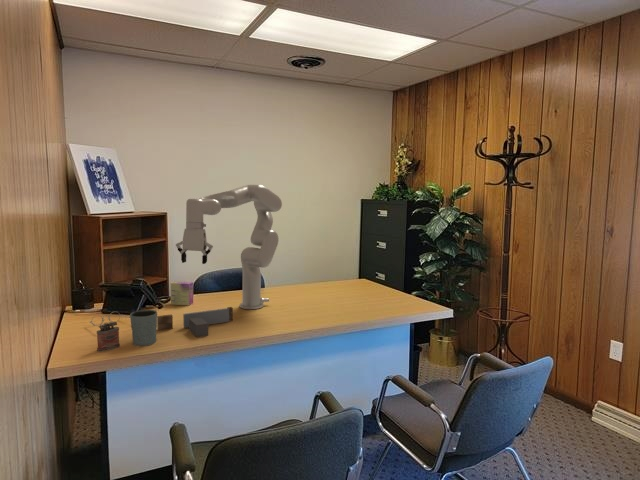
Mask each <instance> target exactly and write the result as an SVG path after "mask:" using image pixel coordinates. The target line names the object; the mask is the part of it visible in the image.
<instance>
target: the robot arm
mask: <svg viewBox="0 0 640 480" xmlns="http://www.w3.org/2000/svg"><path fill="white" fill-rule="evenodd" d="M252 202H253V206H254V209H255V211H256V214H257V215H256V216H257V220H256V222H255V225H254V227H253V231H252V233H251V236H250V243H251V245H253V247H252V246H249V247H246V248H244V249H242V250H241V253H240V262H241V268H242V292H241V293H242V294H241V295H242V298H241V299H242V300H241V301H242V302H241V303H239V308H241V309H245V310H259V309H262V308H264V303H267V302H268V303H269V302H270V298H269V297H267V298H266V297H261V294H262V293H261V289H262V287H261V285H262V271H261V269H262V268H266V267H269V266H270V264H271V262H272V261H273V258H274V255H275V253H276V251H277V248H278V245H279V234H278V233H277V232H276V230H273V229H272V227H273V223H274V219H273V218H274V217H273V215H272V213H275V212H276V213H277V212H279V211H280V210H281V208H282V206H283V202H282V199H281V198H280V196H279V195H277V194H276V193H274V192H273V191H272V190H270V189H269V188H267V187H266V186H264V185H262V184H246V185H243V186H239V187H237V188H234V189H231V190H227V191H226V190H225V191H222V192H217V193H214V194H209V195H205V196H202V197H200V198H187V200H186V203H185V204H186V208H185V209H186V210H185V228H184V229H183V236H182V241H180V242H178V243H176V244H175V246H176V247H175V248H176V249H177V251H178V252H179V253H180V256H181V258H180V259H181V264H183V263H187V251H194V252H201V253H202V254H203V255H201V257H202V258H201V259H202V260H201V261H202V262H201V263H202V265H206V264H207V262H208V255H209V254H210V253H211V252H212V250H213V248H214V246H213V245H212V244H211V243H208V242H207V233H206V229H205V227H206V228H207V224H206V223H204V215H205V216H206V215H207V216H217V215H218V214H219V213H220V212H221V211H222V209H232V208H237V207H239V206H242V205H244V204H247V203H252ZM254 246H256V247H254ZM207 247H208V248H207ZM258 247H259V248H258Z"/></svg>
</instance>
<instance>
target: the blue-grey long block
mask: <svg viewBox="0 0 640 480" xmlns="http://www.w3.org/2000/svg"><path fill="white" fill-rule="evenodd" d="M182 315H183V319H182V320H183V328H185V329H186V328H189V319H191V318H198V317H201V318H202V319H204V320H205V321H206V322H207V323H208V325H215V324H221V323H222V324H223V323H229V322H230V321H229V309H228V308H219V309H211V310H210V309H209V310H202V311H194V312H187V313H186V312H185V313H183V314H182Z"/></svg>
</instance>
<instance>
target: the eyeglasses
mask: <svg viewBox="0 0 640 480" xmlns="http://www.w3.org/2000/svg"><path fill="white" fill-rule="evenodd" d="M112 313H117V311H113V312H111V314H112ZM118 314H119V319H117V321H116V322H119V320H120V319H121V317H126V318H130V316H127V315H125V314H120V313H118ZM97 316H99V317H100V318H101V322H100V324H99V325H97V324H95V323H94V322H93V320H94V318H95V317H97ZM105 316H107V318H108V320H109V323H111V322H112V320H111V318H110V317H111V315H108V314H104V315H103V316H101V315H99V314H96V315H93V317H92V318H91V320H90V321H89V324H92V325H93V326H95V327H97V328H100V325H103V322H104V321H105V319H104V317H105ZM104 323H105V322H104Z"/></svg>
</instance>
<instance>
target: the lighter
mask: <svg viewBox="0 0 640 480" xmlns="http://www.w3.org/2000/svg"><path fill="white" fill-rule="evenodd" d="M117 325H118V321H111V322H104V324H103V323H102V324H101V325H100V324H99V326H100V329H99V330H96V334H97V339H96V341H97V348H96V350H97V352H105V351H110V350H111V351H112V350H113V349H116V348H117V349H118V348H120V346H121V345H120V332H119V331H120V326H117Z"/></svg>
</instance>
